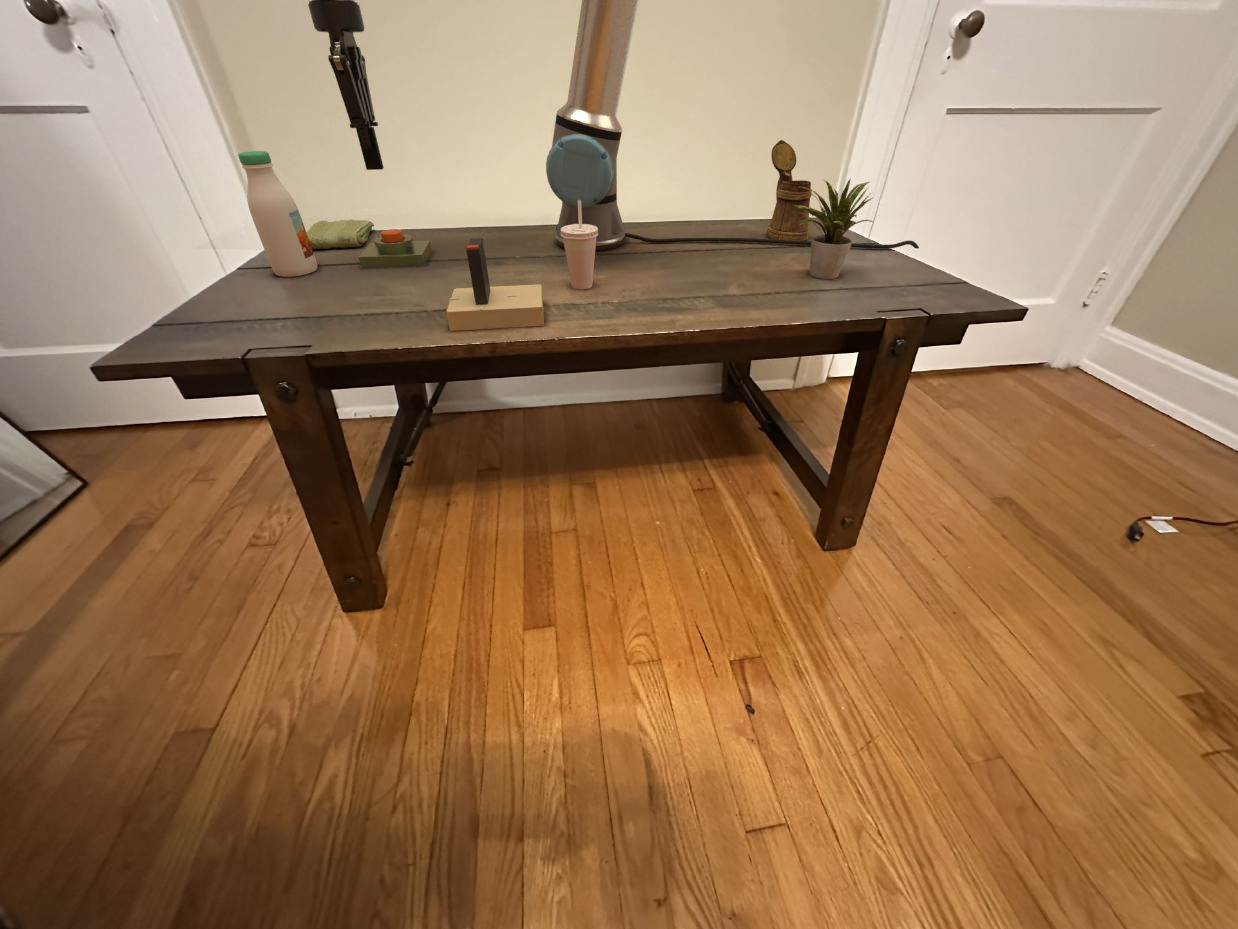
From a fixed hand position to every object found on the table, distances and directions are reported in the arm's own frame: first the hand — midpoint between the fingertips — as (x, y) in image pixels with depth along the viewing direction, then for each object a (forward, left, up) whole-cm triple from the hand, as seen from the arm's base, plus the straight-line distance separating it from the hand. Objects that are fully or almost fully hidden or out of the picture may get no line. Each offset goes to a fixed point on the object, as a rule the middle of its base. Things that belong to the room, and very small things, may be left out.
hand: (375, 168), depth 98 cm
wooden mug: (-84, -7, -17) cm, 86 cm away
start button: (0, 0, -13) cm, 13 cm away
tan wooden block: (-22, +33, -16) cm, 43 cm away
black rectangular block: (-20, +33, -13) cm, 41 cm away
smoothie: (-36, +21, -17) cm, 45 cm away
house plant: (-82, +20, -17) cm, 86 cm away
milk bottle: (+18, +5, -17) cm, 25 cm away
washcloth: (+16, -17, -17) cm, 29 cm away
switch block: (0, 0, -16) cm, 16 cm away
